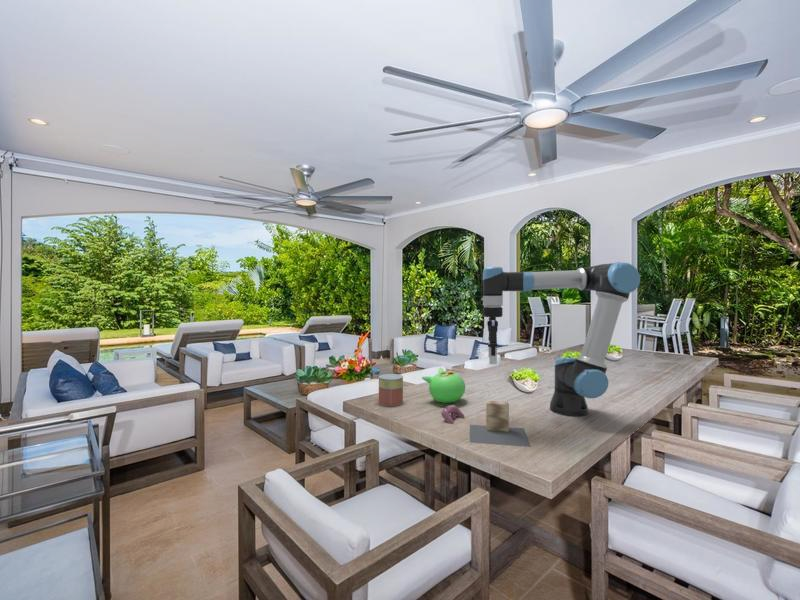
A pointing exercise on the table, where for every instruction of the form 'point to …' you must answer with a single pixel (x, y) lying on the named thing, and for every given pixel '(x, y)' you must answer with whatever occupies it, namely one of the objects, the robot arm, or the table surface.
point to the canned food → (390, 389)
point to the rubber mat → (499, 436)
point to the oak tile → (497, 416)
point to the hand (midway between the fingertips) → (492, 360)
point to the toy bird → (446, 386)
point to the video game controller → (453, 410)
